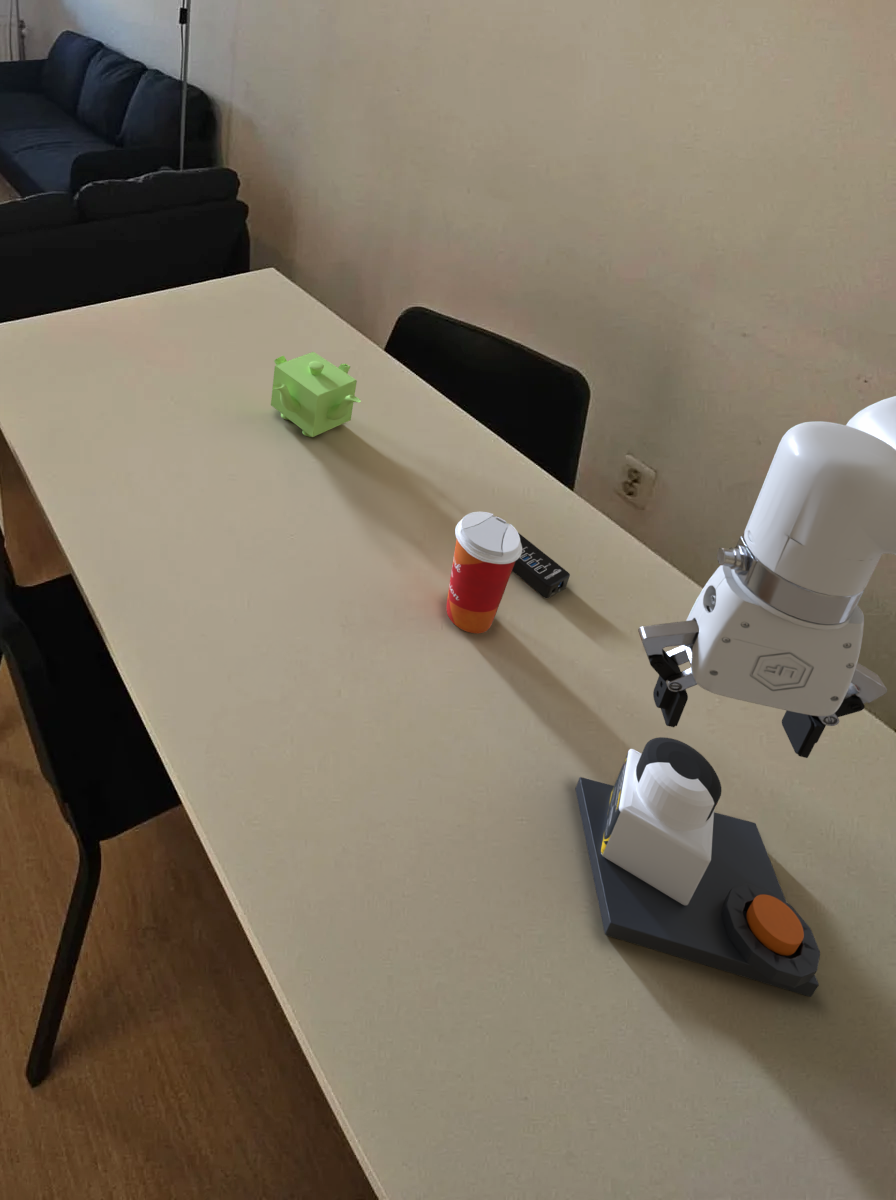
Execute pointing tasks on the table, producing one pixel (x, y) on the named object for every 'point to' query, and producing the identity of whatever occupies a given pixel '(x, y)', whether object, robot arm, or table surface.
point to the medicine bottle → (663, 817)
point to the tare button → (775, 925)
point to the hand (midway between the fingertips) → (728, 725)
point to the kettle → (313, 393)
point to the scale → (699, 902)
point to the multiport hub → (540, 570)
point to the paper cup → (480, 569)
